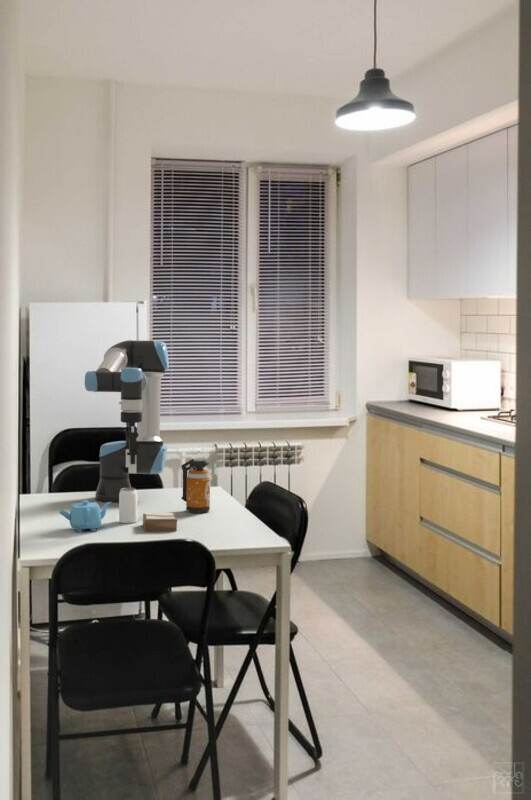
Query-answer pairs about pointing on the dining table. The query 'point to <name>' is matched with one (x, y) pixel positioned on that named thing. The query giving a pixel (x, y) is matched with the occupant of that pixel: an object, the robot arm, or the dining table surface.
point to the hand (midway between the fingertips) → (131, 470)
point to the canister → (196, 486)
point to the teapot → (85, 515)
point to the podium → (159, 522)
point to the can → (128, 505)
